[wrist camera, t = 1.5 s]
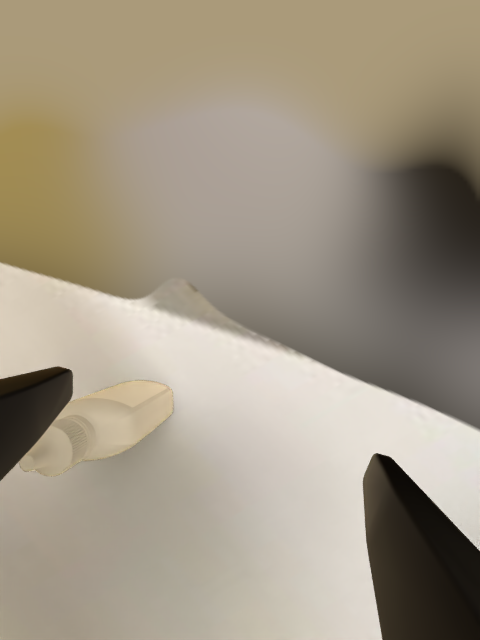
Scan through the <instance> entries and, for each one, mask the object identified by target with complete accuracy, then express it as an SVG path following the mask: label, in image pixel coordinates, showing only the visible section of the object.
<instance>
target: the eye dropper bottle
mask: <svg viewBox="0 0 480 640" xmlns="http://www.w3.org/2000/svg"><path fill="white" fill-rule="evenodd" d="M172 413H173V392H172V390H171V388H170V387H168V386H166V385H164V384H161V383H158V382H154V381H147V380H135V381H129V382H124V383H121V384H118V385H115V386H112V387H109V388H107V389H104V390H101V391H98V392H95V393H93V394H90V395H87V396H84V397H82V398H79V399H76V400H74V401H71V402H68V404H67V405H66V406H65V407H64V409H63V410H62V411H61V413H60V414H59V415H58V416H57V418H56V419H55V420H54V421H53V423H52V424H51V425H50V427H49V428H48V429H47V430H46V432H45V433H44V434H43V435H42V437H41V438H40V439H39V440H38V441H37V443H36V444H35V445H34V446H33V447H32V448H31V449H30V450H29V451H28V452H27V454H25V456H24V457H23V458H22V459H21V460H20V463H19V464H20V468H21V469H22V470H23V471H25V472H29V471H32V470H36V471H37V472H38V473H40V474H42V475H45V476H51V477H52V476H57V475H60V474H62V473H64V472H65V471H67V470H68V469H70V468H71V467H73V466H74V465H75V464H77V463H78V462H80V461H90V460H99V459H104V458H107V457H111V456H114V455H116V454H119V453H121V452H123V451H125V450H127V449H129V448H131V447H132V446H134V445H135V444H137V443H138V442H139V441H141V440H142V439H143V438H144V437H146V436H147V435H148V434H149V433H150V432H152V431H153V430H154V429H155V428H156V427H158V426H159V425H160V424H161V423H162V422H164V421H165V420H166V419H167V418H168V417H169V416H170V415H171V414H172Z"/></svg>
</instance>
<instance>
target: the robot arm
mask: <svg viewBox="0 0 480 640" xmlns="http://www.w3.org/2000/svg"><path fill="white" fill-rule="evenodd" d="M72 394H73V373H72V371H71V370H70V369H66V368H63V367H53V368H48V369H44V370H39V371H35V372H30V373H26V374H22V375H17V376H13V377H8V378H4V379H0V481H1V480H2V479H3V478H4V477H5V475H6V474H7V473H8V472H9V471H10V470H11V469H12V468H13V467H14V466H15V465H16V464H17V463H18V462H19V461H20V460H21V459H22V458H23V457H24V456H25V454H26V453H27V452H28V451H29V450H30V449H31V448H32V447H33V446H34V445H35V444H36V443H37V441H38V440H39V439H40V438H41V437H42V435H43V434H44V433H45V432H46V430H47V429H48V428H49V427H50V425H51V424H52V423H53V421H54V420H55V419H56V418H57V416H58V415H59V414H60V413H61V411H62V410H63V409H64V407H65V406H66V405H67V404H68V402H69V401H70V399H71V397H72ZM363 494H364V511H365V528H366V541H367V549H368V555H369V561H370V567H371V573H372V579H373V585H374V591H375V597H376V603H377V610H378V616H379V622H380V628H381V634H382V640H480V551H479V550H478V549H477V548H476V547H475V546H474V545H473V544H472V542H471V541H470V540H469V539H468V538H467V537H466V536H465V535H464V534H463V533H462V532H461V531H460V530H459V529H458V528H457V527H456V526H455V525H454V523H453V522H452V521H451V520H450V519H449V518H448V517H447V516H446V515H445V514H444V513H443V512H442V511H441V510H440V509H439V508H438V507H437V505H436V504H435V503H434V502H433V501H432V500H431V499H430V498H429V497H428V496H427V495H426V494H425V493H424V492H423V491H422V490H421V489H420V488H419V486H418V485H417V484H416V483H415V482H414V481H413V480H412V479H411V478H410V477H409V476H408V475H407V474H406V473H405V472H404V471H403V470H402V468H401V467H400V466H399V465H398V464H397V463H396V462H395V461H394V460H393V459H392V458H391V457H389V456H385V455H382V454H378V453H376V454H374V455H373V456H372V458H371V460H370V463H369V465H368V468H367V470H366V472H365V475H364V478H363Z"/></svg>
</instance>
